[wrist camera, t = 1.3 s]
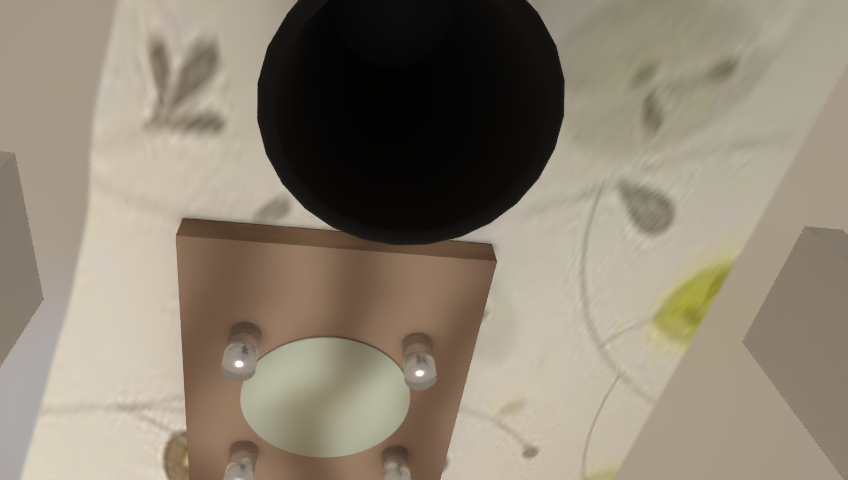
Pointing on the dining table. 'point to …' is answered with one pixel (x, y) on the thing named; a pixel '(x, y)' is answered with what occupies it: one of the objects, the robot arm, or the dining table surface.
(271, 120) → the cup
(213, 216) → the dining table surface
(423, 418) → the stub board
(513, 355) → the dining table surface
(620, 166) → the dining table surface
